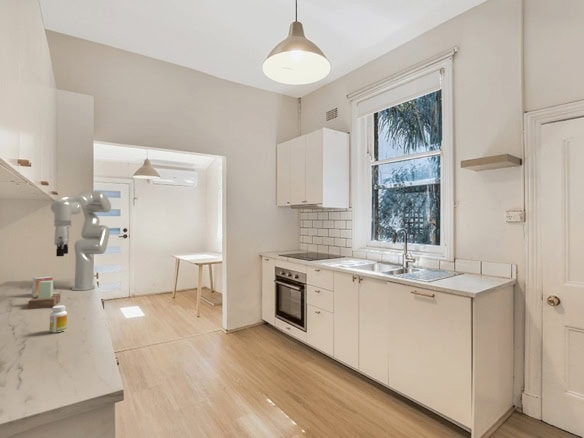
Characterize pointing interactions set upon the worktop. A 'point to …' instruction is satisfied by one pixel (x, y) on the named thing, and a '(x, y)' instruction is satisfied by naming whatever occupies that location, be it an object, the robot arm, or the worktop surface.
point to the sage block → (45, 289)
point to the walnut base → (44, 302)
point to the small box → (36, 284)
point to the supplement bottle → (58, 319)
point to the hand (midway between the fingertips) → (62, 254)
